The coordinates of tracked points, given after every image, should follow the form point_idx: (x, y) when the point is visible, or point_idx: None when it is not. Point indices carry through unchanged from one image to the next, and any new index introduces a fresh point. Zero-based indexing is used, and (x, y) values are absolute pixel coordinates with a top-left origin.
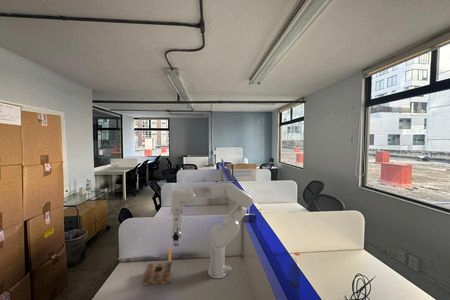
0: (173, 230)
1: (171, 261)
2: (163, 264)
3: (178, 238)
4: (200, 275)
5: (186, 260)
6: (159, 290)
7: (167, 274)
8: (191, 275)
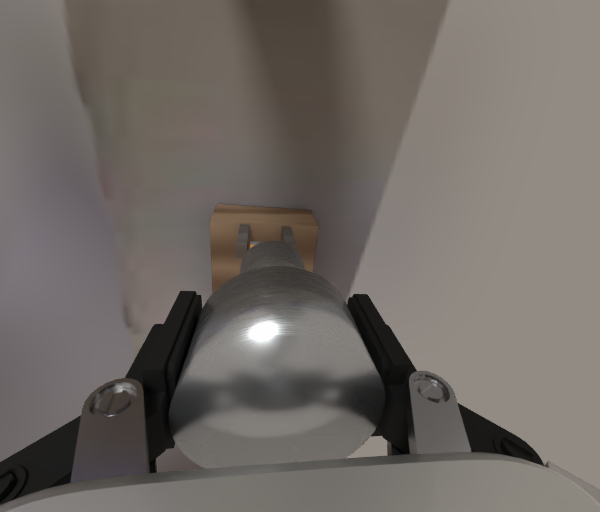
0: (242, 465)
1: (242, 235)
2: (224, 267)
3: (345, 302)
4: (273, 26)
5: (102, 118)
6: (339, 248)
7: (316, 239)
8: (264, 93)
